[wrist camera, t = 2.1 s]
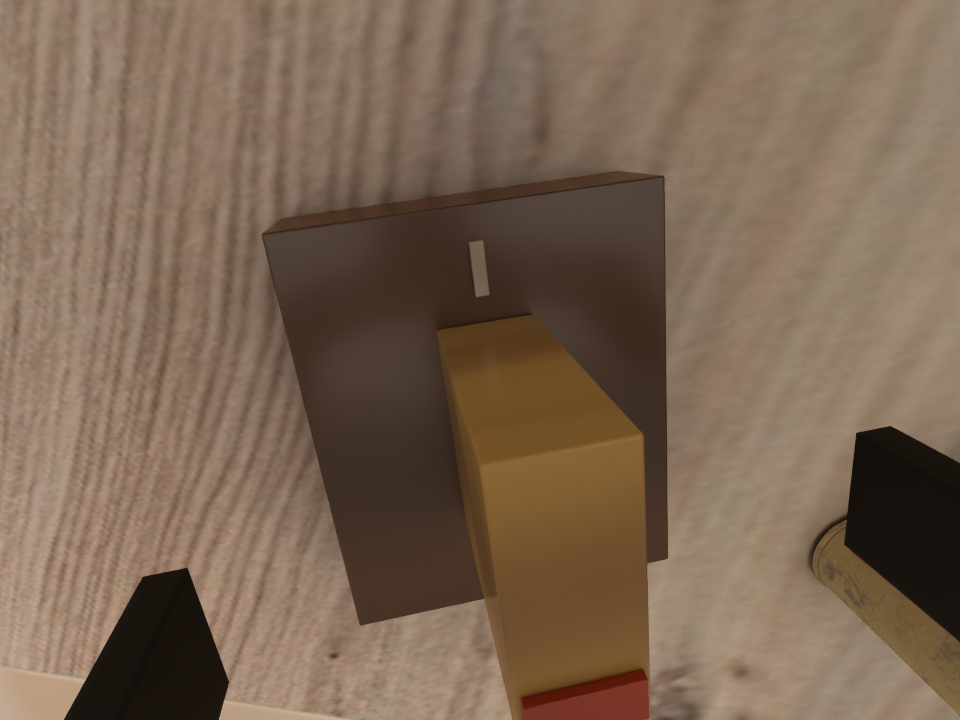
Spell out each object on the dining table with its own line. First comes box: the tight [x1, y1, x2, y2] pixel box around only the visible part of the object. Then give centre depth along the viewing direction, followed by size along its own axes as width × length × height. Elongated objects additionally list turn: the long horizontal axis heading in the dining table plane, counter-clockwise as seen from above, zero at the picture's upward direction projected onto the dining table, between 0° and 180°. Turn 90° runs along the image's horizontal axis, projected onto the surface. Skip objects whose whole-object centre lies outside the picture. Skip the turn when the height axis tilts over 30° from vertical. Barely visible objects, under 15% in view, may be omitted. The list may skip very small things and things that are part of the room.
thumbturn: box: [437, 315, 651, 720], centre depth 13 cm, size 6×3×7 cm, turn 7°
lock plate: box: [262, 171, 668, 625], centre depth 18 cm, size 12×10×3 cm
